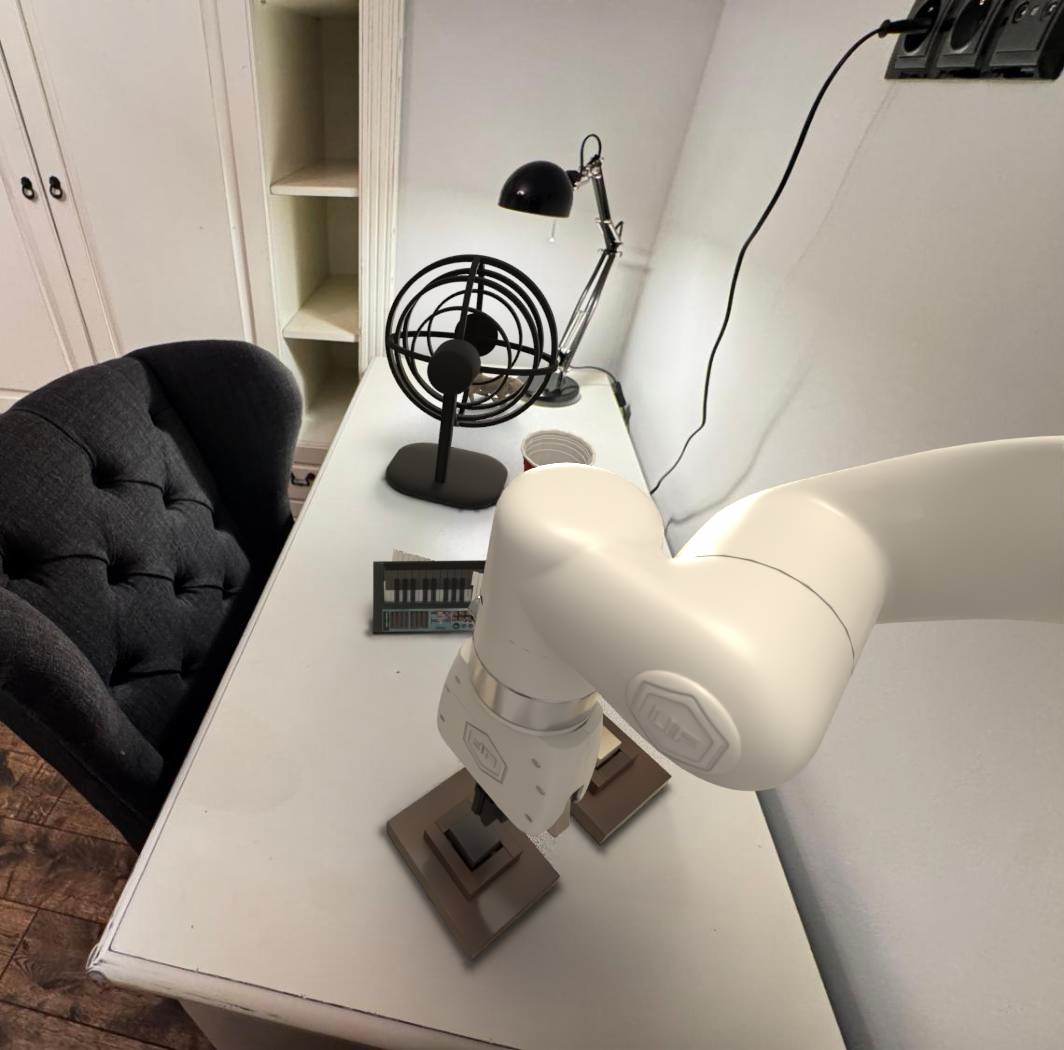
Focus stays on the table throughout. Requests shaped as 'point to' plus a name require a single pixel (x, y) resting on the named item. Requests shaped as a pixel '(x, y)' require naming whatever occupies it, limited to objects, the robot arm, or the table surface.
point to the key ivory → (607, 746)
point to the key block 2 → (618, 787)
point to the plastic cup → (555, 449)
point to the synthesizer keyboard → (424, 594)
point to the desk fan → (464, 380)
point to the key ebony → (473, 839)
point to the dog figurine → (494, 387)
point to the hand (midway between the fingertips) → (492, 807)
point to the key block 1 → (454, 888)
